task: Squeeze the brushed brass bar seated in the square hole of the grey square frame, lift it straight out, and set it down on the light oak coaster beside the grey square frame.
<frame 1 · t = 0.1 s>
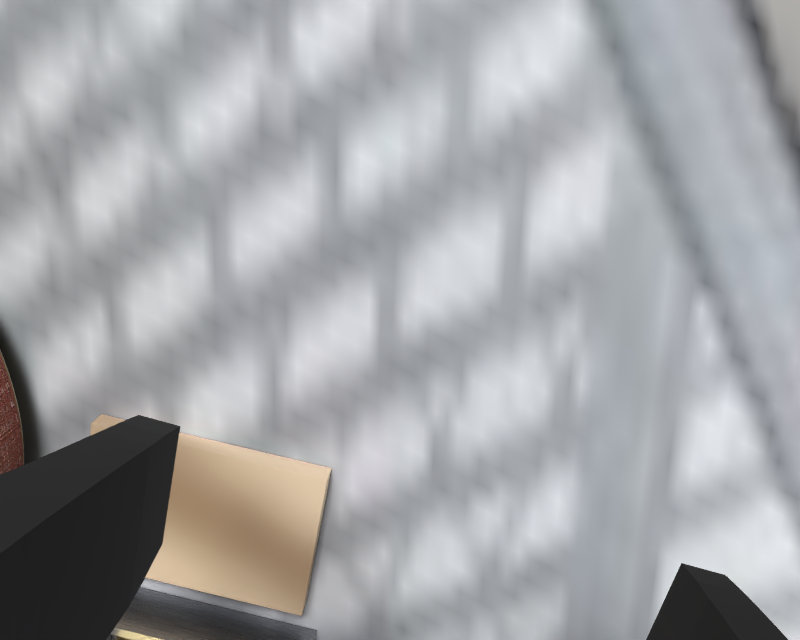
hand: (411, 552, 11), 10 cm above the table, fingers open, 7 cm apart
coaster: (207, 511, 23), on the table
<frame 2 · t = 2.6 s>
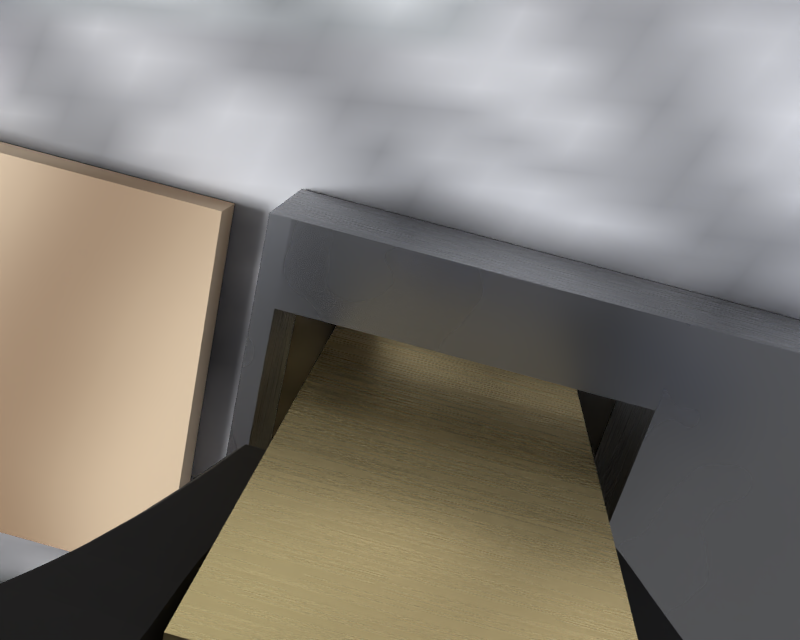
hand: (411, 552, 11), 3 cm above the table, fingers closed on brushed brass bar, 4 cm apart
grey square frame: (510, 480, 13), on the table
brushed brass bar: (426, 457, 13), resting in grey square frame, touching gripper
coaster: (66, 359, 13), on the table
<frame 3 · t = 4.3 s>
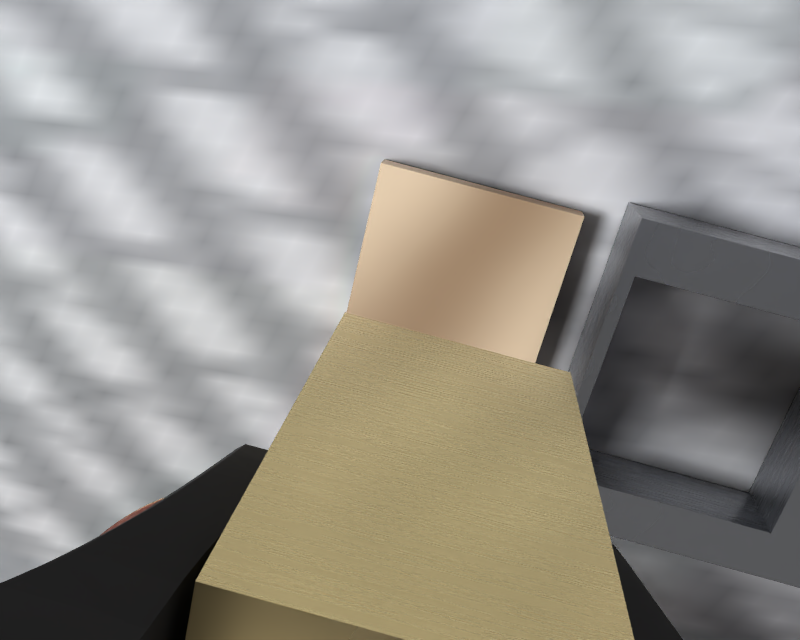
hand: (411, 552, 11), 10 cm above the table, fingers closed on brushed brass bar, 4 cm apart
grey square frame: (744, 395, 20), on the table
brushed brass bar: (428, 441, 14), point 7 cm above the table, touching gripper
coaster: (446, 314, 20), on the table
when the fingers open (4 cm above the table, at t = 6.2 s): brushed brass bar stays where it is, resting on coaster.
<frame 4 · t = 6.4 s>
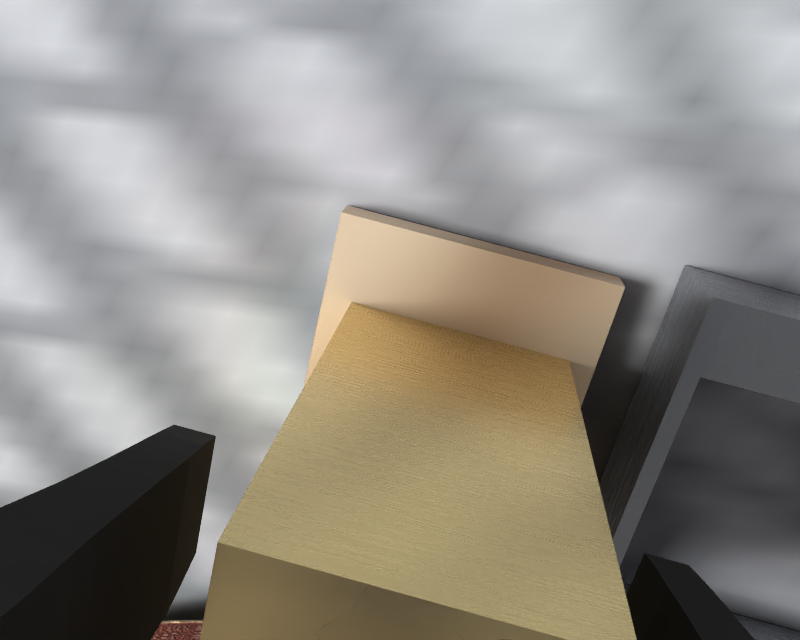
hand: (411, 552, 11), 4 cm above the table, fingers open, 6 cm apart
brushed brass bar: (431, 427, 14), point 1 cm above the table, touching coaster
coaster: (434, 410, 15), on the table
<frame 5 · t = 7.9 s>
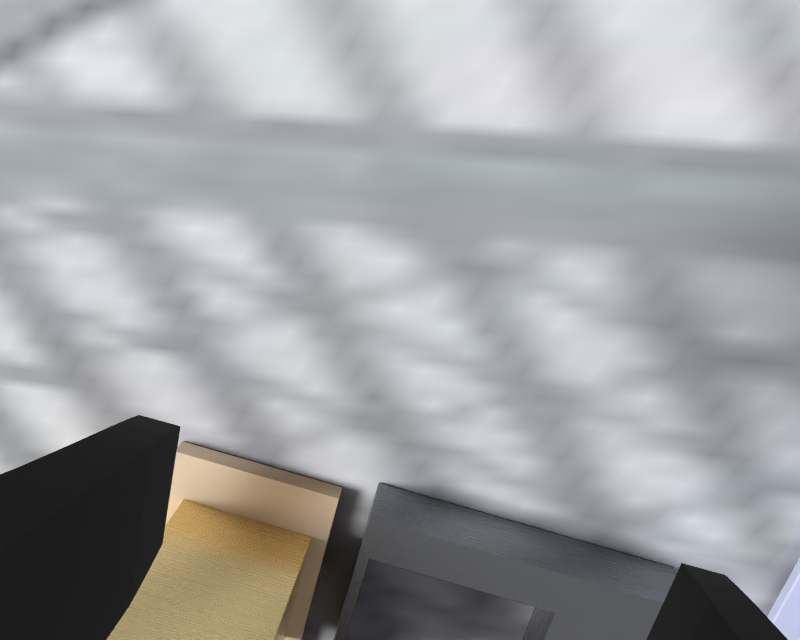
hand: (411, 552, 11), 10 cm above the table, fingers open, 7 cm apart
grey square frame: (486, 627, 24), on the table
brushed brass bar: (236, 570, 23), point 1 cm above the table, touching coaster
coaster: (242, 556, 24), on the table
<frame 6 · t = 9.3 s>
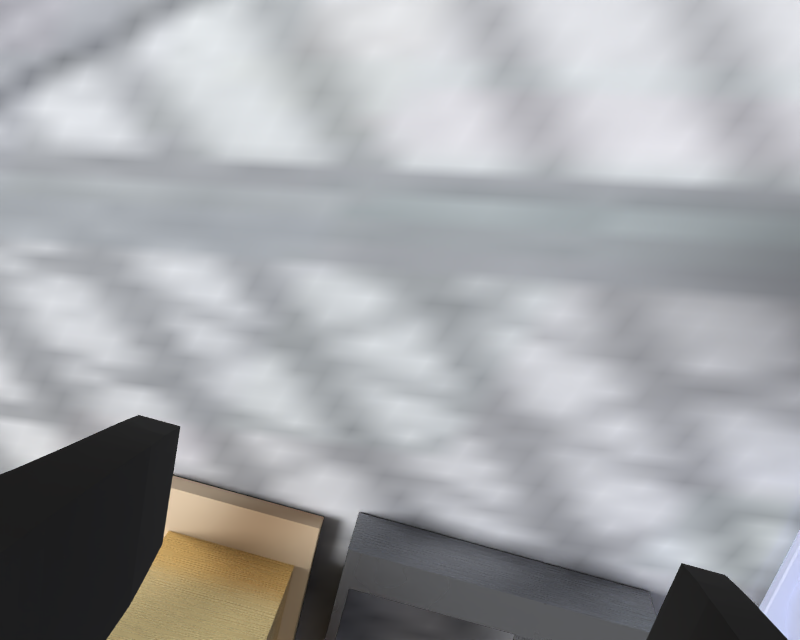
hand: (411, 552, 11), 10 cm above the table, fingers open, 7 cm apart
brushed brass bar: (221, 598, 24), point 1 cm above the table, touching coaster
coaster: (227, 584, 24), on the table
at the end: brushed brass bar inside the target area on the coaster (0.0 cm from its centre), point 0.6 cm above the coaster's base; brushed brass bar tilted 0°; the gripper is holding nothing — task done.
